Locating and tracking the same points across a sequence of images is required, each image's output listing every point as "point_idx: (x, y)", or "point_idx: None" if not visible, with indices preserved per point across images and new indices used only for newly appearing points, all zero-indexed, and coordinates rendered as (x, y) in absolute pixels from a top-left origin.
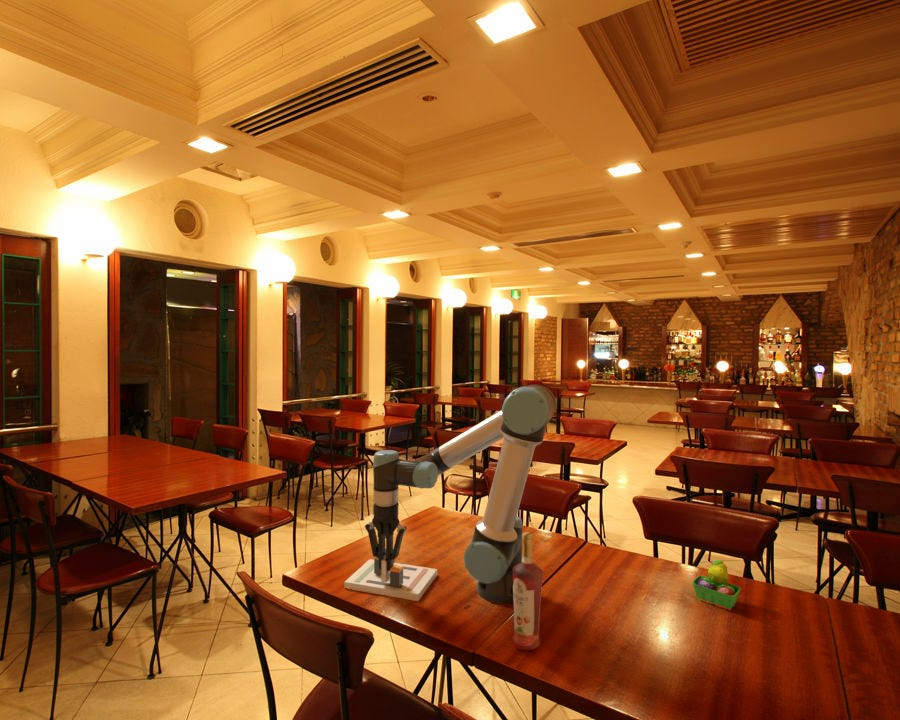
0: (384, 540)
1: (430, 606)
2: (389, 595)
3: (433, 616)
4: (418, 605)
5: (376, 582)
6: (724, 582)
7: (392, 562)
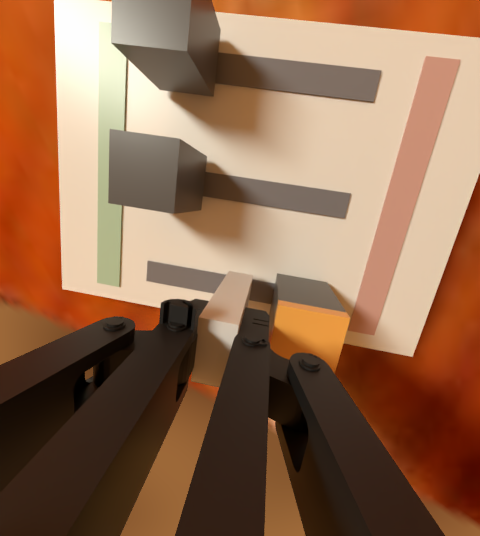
0: (111, 489)
1: (453, 371)
2: None
3: (466, 431)
4: (401, 368)
5: (195, 280)
6: None
7: (213, 61)
